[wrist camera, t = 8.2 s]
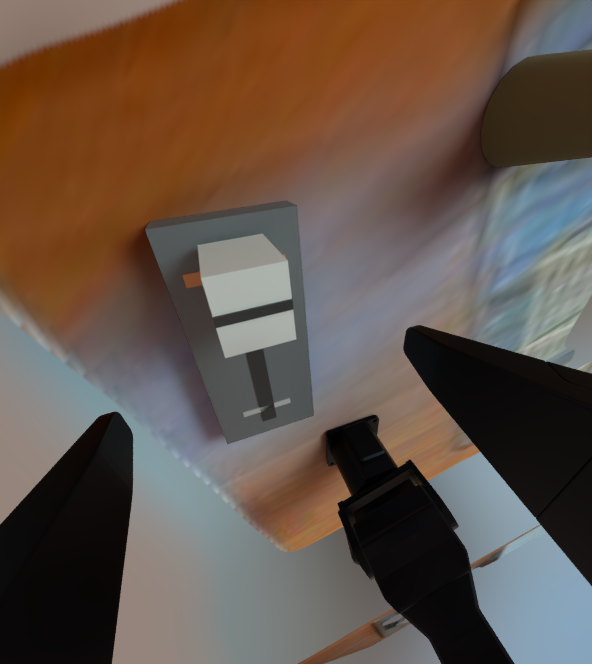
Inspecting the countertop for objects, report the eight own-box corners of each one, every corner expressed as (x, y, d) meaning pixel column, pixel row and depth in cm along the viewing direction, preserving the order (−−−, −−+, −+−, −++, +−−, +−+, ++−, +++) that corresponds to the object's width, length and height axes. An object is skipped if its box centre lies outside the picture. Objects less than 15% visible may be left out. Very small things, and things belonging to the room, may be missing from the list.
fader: (272, 298, 17) (297, 340, 14) (216, 311, 17) (225, 359, 13) (262, 233, 15) (288, 261, 11) (197, 245, 14) (200, 279, 11)
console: (306, 400, 27) (314, 416, 26) (224, 426, 26) (227, 445, 24) (286, 200, 17) (297, 205, 15) (149, 222, 15) (144, 230, 14)
